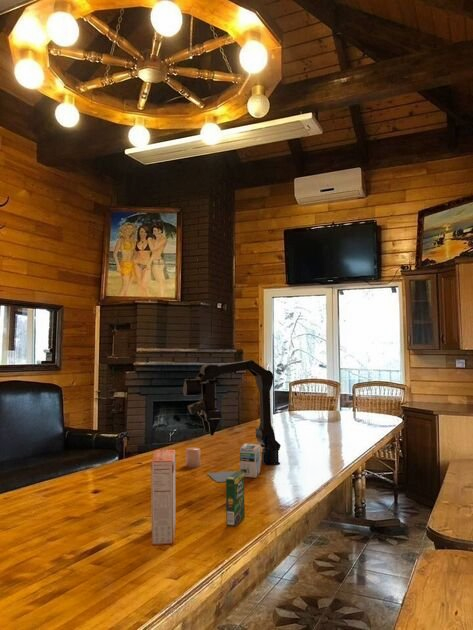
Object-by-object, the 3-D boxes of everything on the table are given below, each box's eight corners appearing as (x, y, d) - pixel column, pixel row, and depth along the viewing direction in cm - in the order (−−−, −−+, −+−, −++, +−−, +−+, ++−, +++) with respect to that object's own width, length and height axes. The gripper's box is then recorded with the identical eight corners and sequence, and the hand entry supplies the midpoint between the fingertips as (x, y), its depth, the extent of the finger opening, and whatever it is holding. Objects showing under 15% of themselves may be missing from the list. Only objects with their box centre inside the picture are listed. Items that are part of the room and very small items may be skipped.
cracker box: (154, 525, 136) (154, 449, 137) (176, 524, 136) (176, 448, 138) (149, 545, 122) (150, 460, 123) (173, 545, 122) (174, 460, 124)
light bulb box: (256, 478, 184) (256, 449, 185) (238, 476, 185) (239, 447, 186) (260, 471, 194) (261, 444, 195) (243, 470, 196) (244, 442, 197)
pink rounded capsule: (197, 463, 209) (197, 447, 209) (201, 466, 203) (201, 449, 203) (184, 464, 206) (184, 448, 207) (187, 468, 201) (187, 450, 201)
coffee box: (235, 527, 134) (234, 478, 135) (225, 526, 135) (225, 478, 136) (245, 518, 141) (245, 472, 142) (236, 517, 142) (235, 471, 143)
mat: (233, 471, 194) (233, 470, 194) (245, 479, 182) (245, 479, 182) (206, 474, 191) (206, 473, 191) (217, 482, 179) (217, 481, 179)
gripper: (185, 393, 207) (185, 431, 206) (194, 398, 189) (194, 438, 188) (210, 392, 210) (211, 429, 209) (221, 396, 192) (222, 437, 191)
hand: (209, 433), depth 199 cm, fingers open, 9 cm apart
